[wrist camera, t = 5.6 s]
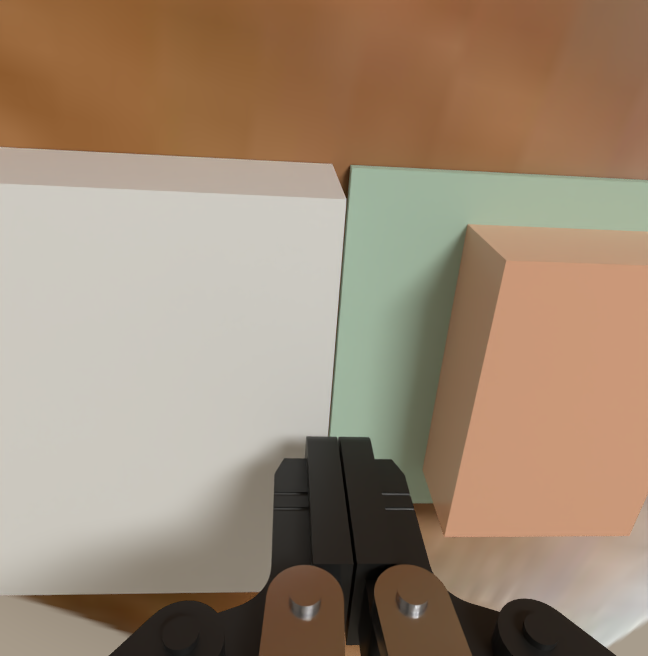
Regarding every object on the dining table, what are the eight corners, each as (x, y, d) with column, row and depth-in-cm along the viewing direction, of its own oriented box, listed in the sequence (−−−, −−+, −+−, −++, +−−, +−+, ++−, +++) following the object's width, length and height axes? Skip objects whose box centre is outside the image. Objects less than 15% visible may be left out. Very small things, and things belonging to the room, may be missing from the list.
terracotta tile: (747, 269, 13) (668, 232, 16) (506, 260, 12) (467, 224, 15) (629, 535, 17) (582, 470, 20) (444, 536, 16) (422, 469, 19)
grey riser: (-140, 139, 13) (-293, 170, 10) (332, 163, 14) (345, 199, 11) (-27, 495, 19) (-100, 596, 15) (310, 495, 20) (315, 591, 16)
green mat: (350, 164, 14) (351, 167, 14) (744, 185, 15) (755, 188, 15) (324, 495, 20) (324, 503, 20) (617, 495, 21) (622, 503, 20)
